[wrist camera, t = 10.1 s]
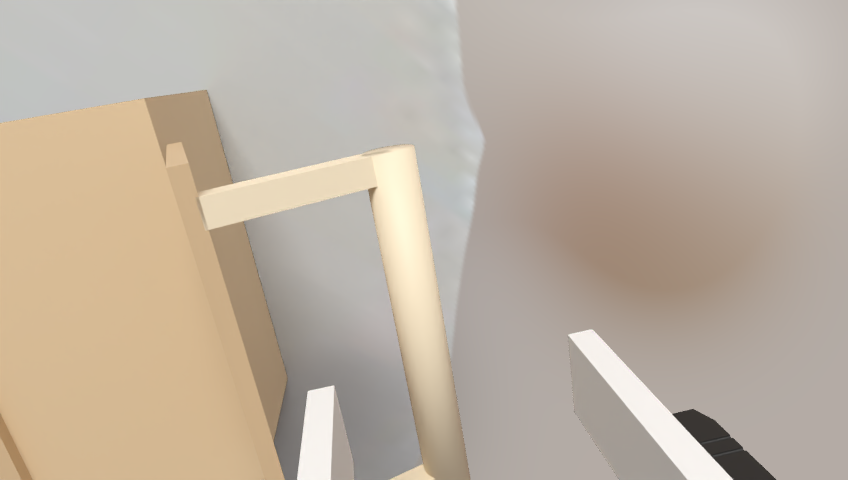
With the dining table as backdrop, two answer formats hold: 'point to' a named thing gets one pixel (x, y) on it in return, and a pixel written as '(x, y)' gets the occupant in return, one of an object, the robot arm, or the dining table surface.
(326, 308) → the dining table surface
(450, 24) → the dining table surface
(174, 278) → the carton
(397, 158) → the flap
